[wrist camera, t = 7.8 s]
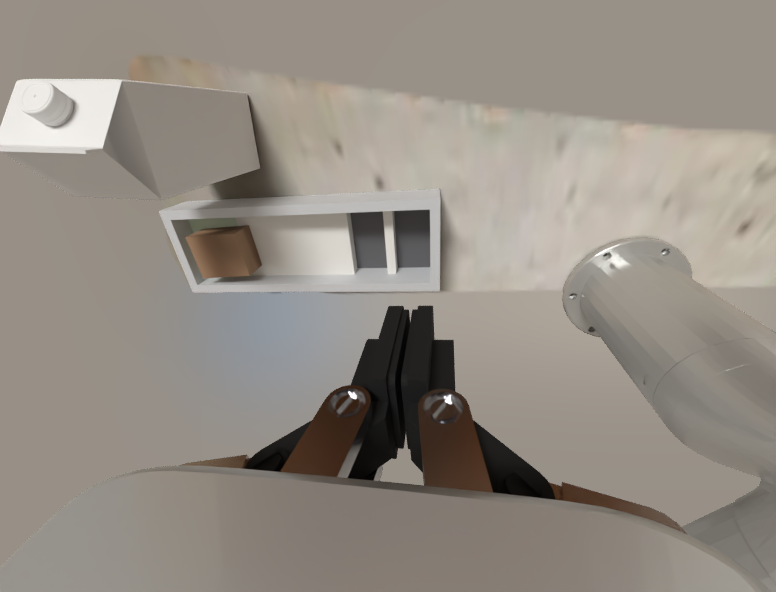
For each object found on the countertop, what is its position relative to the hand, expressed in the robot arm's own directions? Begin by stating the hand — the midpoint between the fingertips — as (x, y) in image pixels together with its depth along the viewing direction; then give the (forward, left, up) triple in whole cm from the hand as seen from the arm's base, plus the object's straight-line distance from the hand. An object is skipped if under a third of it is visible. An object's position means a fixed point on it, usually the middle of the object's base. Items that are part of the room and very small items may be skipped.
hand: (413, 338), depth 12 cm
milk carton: (+18, +14, -26) cm, 34 cm away
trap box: (+4, +14, -26) cm, 29 cm away
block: (+9, +22, -24) cm, 33 cm away
